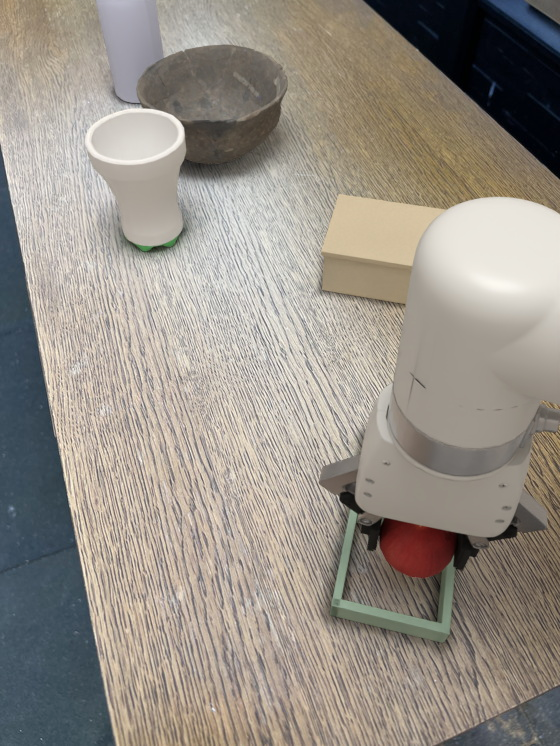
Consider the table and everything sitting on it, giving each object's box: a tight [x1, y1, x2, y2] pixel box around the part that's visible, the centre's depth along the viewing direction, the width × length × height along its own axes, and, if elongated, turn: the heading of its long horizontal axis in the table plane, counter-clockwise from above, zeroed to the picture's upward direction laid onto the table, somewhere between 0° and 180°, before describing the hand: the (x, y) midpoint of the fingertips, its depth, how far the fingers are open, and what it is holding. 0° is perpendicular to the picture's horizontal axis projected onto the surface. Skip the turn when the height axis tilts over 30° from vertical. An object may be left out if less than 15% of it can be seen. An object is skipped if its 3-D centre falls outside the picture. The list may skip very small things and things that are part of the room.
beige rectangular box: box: [320, 193, 447, 305], centre depth 76 cm, size 23×11×6 cm, turn 76°
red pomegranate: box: [378, 518, 457, 580], centre depth 49 cm, size 6×6×8 cm
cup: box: [84, 107, 186, 252], centre depth 78 cm, size 11×11×14 cm
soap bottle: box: [94, 0, 165, 104], centre depth 96 cm, size 9×9×24 cm
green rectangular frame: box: [329, 421, 456, 644], centre depth 58 cm, size 9×18×2 cm, turn 166°
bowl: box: [136, 43, 289, 165], centre depth 92 cm, size 21×21×10 cm
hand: (416, 541), depth 50 cm, fingers closed on red pomegranate, 5 cm apart
